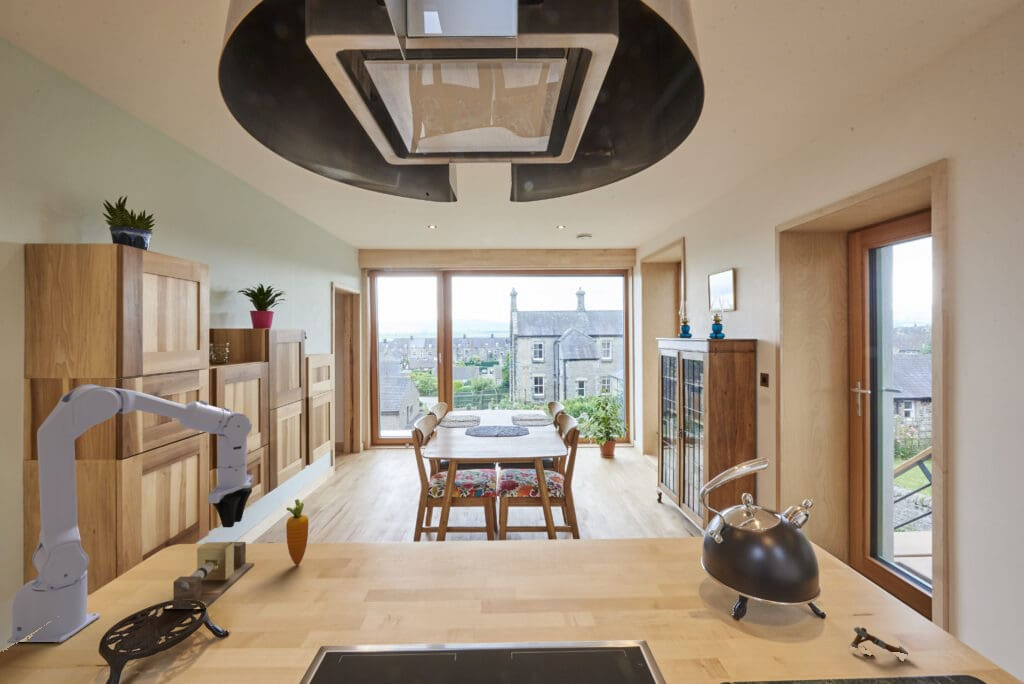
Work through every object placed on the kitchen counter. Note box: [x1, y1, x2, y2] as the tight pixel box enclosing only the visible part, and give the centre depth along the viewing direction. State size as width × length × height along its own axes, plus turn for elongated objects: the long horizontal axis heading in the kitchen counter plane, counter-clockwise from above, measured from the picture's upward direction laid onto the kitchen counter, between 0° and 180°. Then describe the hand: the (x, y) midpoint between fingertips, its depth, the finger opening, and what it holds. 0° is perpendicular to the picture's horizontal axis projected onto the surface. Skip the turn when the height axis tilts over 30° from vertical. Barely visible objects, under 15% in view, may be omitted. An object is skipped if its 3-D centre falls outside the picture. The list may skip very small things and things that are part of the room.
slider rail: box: [170, 541, 255, 608], centre depth 99 cm, size 18×8×6 cm, turn 1°
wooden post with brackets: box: [850, 626, 909, 656], centre depth 78 cm, size 2×8×4 cm, turn 80°
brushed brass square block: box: [196, 541, 235, 580], centre depth 100 cm, size 3×6×7 cm, turn 91°
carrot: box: [285, 499, 309, 566], centre depth 109 cm, size 5×5×15 cm
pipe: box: [179, 546, 236, 592], centre depth 99 cm, size 18×2×2 cm, turn 1°
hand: (232, 524), depth 106 cm, fingers closed
